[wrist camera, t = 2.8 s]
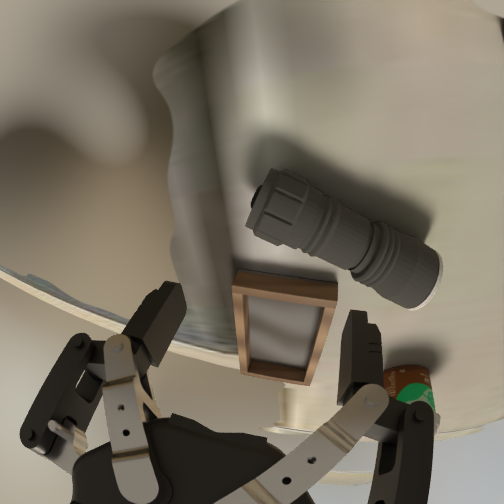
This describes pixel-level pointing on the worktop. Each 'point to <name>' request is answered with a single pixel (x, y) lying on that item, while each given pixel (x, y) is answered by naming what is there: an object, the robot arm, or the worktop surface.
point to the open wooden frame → (281, 324)
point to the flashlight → (345, 239)
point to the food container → (410, 386)
